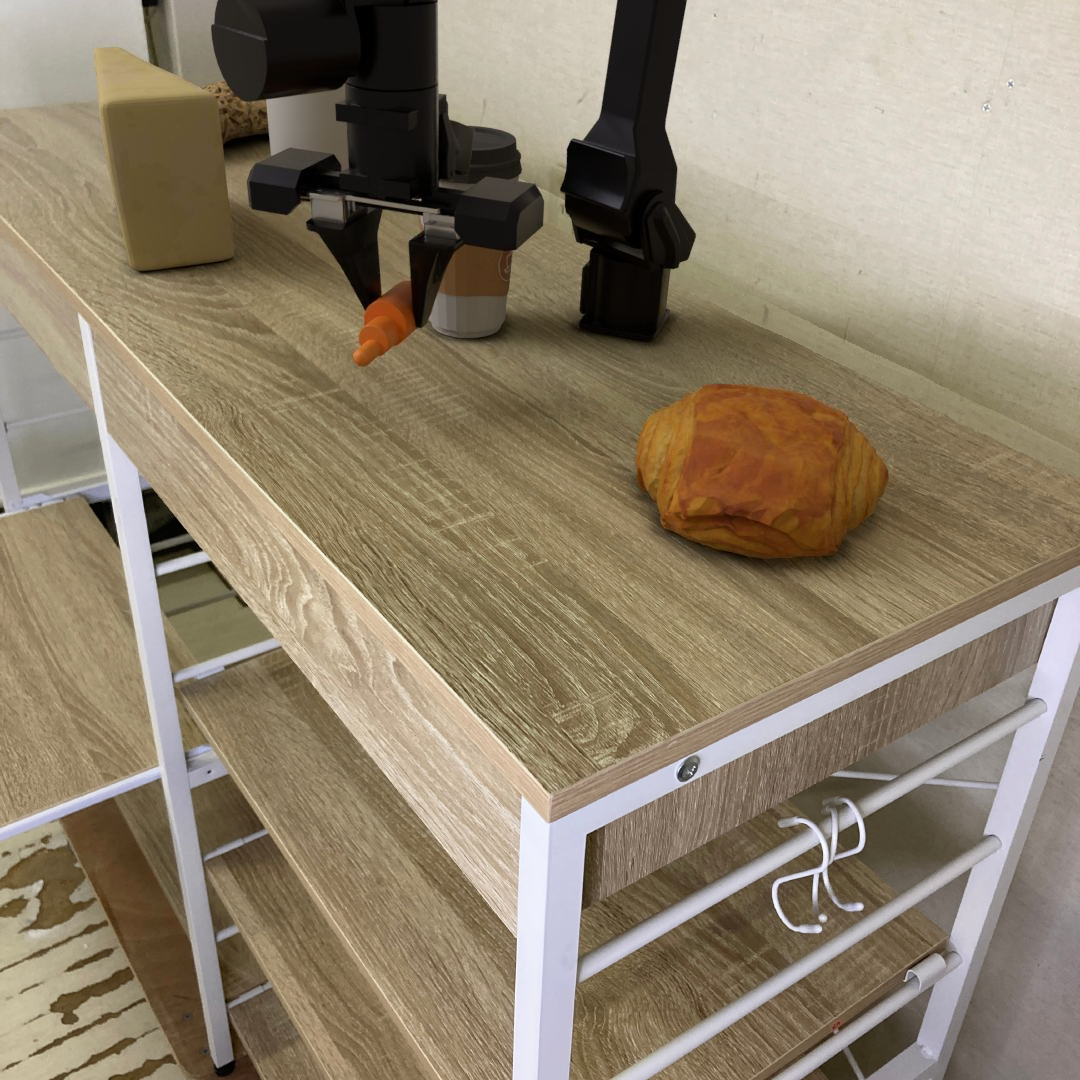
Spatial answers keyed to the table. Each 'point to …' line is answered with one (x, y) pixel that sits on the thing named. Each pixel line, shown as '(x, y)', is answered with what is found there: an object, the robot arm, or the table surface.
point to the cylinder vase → (308, 124)
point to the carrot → (386, 323)
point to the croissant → (759, 471)
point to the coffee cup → (477, 250)
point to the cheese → (163, 163)
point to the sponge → (238, 113)
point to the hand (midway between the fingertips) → (398, 321)
